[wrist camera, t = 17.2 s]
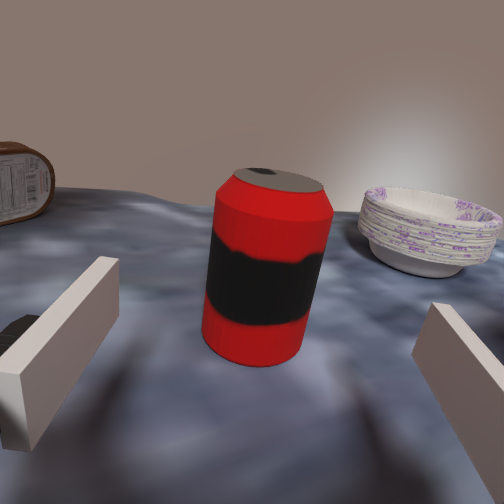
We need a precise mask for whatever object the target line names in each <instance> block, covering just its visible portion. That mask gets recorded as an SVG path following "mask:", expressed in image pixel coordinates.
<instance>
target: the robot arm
mask: <svg viewBox="0 0 504 504" xmlns="http://www.w3.org/2000/svg"><path fill="white" fill-rule="evenodd" d="M118 316H119V259H116V258H109V257H102V256H100V257H99V258H98V259H97V260H96V261H95V262H94V263H93V264H92V265H91V266H90V267H89V268H88V269H87V270H86V271H85V272H84V273H83V274H82V275H81V276H80V277H79V278H78V279H77V280H76V281H75V282H74V283H73V284H72V285H71V286H70V287H69V288H68V289H67V290H66V291H65V292H64V293H63V294H62V295H61V296H60V297H59V298H58V299H57V300H56V301H55V302H54V303H53V304H52V305H51V306H50V307H49V308H48V309H47V310H46V311H45V312H44V313H43V314H42V315H41V316H36V315H28V314H27V315H25V316H24V317H22V318H20V319H18V320H16V321H14V322H12V323H11V324H9V325H8V326H7V327H6V328H5V329H4V330H3V331H2V332H1V333H0V437H1V442H2V448H3V449H7V450H16V451H24V452H32V450H33V449H34V447H35V446H36V444H37V443H38V441H39V440H40V438H41V436H42V435H43V433H44V432H45V430H46V429H47V427H48V426H49V424H50V422H51V421H52V419H53V418H54V416H55V415H56V413H57V411H58V410H59V408H60V407H61V405H62V404H63V402H64V401H65V399H66V397H67V396H68V394H69V393H70V391H71V390H72V388H73V387H74V385H75V383H76V382H77V380H78V379H79V377H80V376H81V374H82V372H83V371H84V369H85V368H86V366H87V365H88V363H89V362H90V360H91V358H92V357H93V355H94V354H95V352H96V351H97V349H98V348H99V346H100V344H101V343H102V341H103V340H104V338H105V337H106V335H107V334H108V332H109V330H110V329H111V327H112V326H113V324H114V323H115V321H116V319H117V318H118ZM411 355H412V357H413V358H414V360H415V362H416V364H417V365H418V367H419V369H420V371H421V373H422V374H423V376H424V378H425V380H426V381H427V383H428V385H429V387H430V388H431V390H432V392H433V394H434V396H435V397H436V399H437V401H438V403H439V404H440V406H441V408H442V410H443V411H444V413H445V415H446V417H447V419H448V420H449V422H450V424H451V426H452V427H453V429H454V431H455V433H456V434H457V436H458V438H459V440H460V442H461V443H462V445H463V447H464V449H465V450H466V452H467V454H468V456H469V457H470V459H471V461H472V463H473V465H474V466H475V468H476V470H477V472H478V473H479V475H480V477H481V479H482V481H483V482H484V484H485V486H486V488H487V489H488V491H489V493H490V495H491V496H492V498H493V500H494V502H495V504H504V366H503V365H502V364H501V363H500V362H499V360H498V359H497V358H496V357H495V356H494V355H493V354H492V352H491V351H490V350H489V349H488V348H487V347H486V346H485V344H484V343H483V342H482V341H481V340H480V339H479V338H478V336H477V335H476V334H475V333H474V332H473V331H472V330H471V328H470V327H469V326H468V325H467V324H466V323H465V322H464V320H463V319H462V318H461V317H460V316H459V315H458V314H457V312H456V311H455V310H454V309H453V308H452V307H451V306H450V305H447V304H440V303H433V302H432V304H431V306H430V309H429V311H428V314H427V316H426V319H425V321H424V324H423V326H422V329H421V331H420V334H419V336H418V339H417V341H416V344H415V346H414V349H413V351H412V354H411Z"/></svg>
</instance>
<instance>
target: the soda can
mask: <svg viewBox="0 0 504 504" xmlns="http://www.w3.org/2000/svg"><path fill="white" fill-rule="evenodd" d="M333 214H334V211H333V208H332V206H331V204H330V202H329V200H328V198H327V196H326V193H325V191H324V189H323V185H322V184H321V183H319V182H317V181H316V180H313V179H311V178H308V177H305V176H302V175H298V174H294V173H290V172H285V171H279V170H272V169H263V168H244V169H238V170H236V171H235V172H234V174H233V175H232V176H231V177H230V178H229V179H228V180H227V181H226V183H224V184H223V185H222V186H221V187H220V188H219V189H218V190H217V192H216V198H215V207H214V217H213V226H212V236H211V245H210V255H209V264H208V274H207V283H206V292H205V302H204V311H203V321H202V334H203V337H204V339H205V341H206V342H207V343H208V345H209V346H210V347H211V348H212V349H213V350H214V351H215V352H216V353H217V354H219V355H220V356H221V357H223V358H225V359H227V360H229V361H231V362H233V363H236V364H239V365H244V366H248V367H270V366H274V365H278V364H280V363H283V362H285V361H287V360H289V359H290V358H292V357H293V356H295V355H296V353H297V352H298V351H299V350H300V347H301V344H302V340H303V336H304V332H305V328H306V324H307V320H308V316H309V312H310V308H311V304H312V300H313V296H314V292H315V288H316V283H317V279H318V275H319V271H320V267H321V263H322V259H323V255H324V251H325V247H326V243H327V239H328V235H329V231H330V227H331V222H332V218H333Z"/></svg>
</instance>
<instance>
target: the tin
mask: <svg viewBox="0 0 504 504" xmlns="http://www.w3.org/2000/svg"><path fill="white" fill-rule="evenodd" d="M54 189H55V174H54V169H53V166H52V165H51V163H50V162H49V160H48V159H47V158H46V157H45V156H44V155H42V154H41V153H39V152H37V151H35V150H33V149H31V148H29V147H27V146H25V145H23V144H21V143H17V142H0V226H3V225H7V224H12V223H16V222H20V221H24V220H28V219H31V218H33V217H35V216H37V215H39V214H40V213H41V212H43V211H44V210H45V209H46V207H47V206H48V205H49V203H50V202H51V200H52V198H53V195H54Z"/></svg>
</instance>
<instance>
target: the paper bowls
mask: <svg viewBox="0 0 504 504" xmlns="http://www.w3.org/2000/svg"><path fill="white" fill-rule="evenodd" d="M357 226H358V229H359V231H360V232H361V233H362V234H363V235H364V236H365V237H367V238H368V239H369V244H370V248H371V251H372V252H373V254H374V255H375V256H376V257H377V258H378V259H380V260H381V261H382V262H384V263H386V264H387V265H389V266H391V267H393V268H396V269H398V270H401V271H404V272H407V273H410V274H414V275H418V276H423V277H431V278H444V277H449V276H452V275H454V274H456V273H458V272H459V271H460V270H461V269H462V268H463V267H464V266H470V265H477V264H482V263H484V262H485V261H487V260H488V257H489V256H490V254H491V252H492V249H493V247H494V245H495V243H496V238H497V236H498V235H499V233H500V230H501V229H502V226H503V220H502V218H501V217H500V216H499V215H497V214H496V213H494V212H492V211H490V210H488V209H486V208H484V207H481V206H479V205H476V204H473V203H470V202H467V201H464V200H460V199H457V198H453V197H449V196H445V195H441V194H436V193H432V192H426V191H420V190H414V189H407V188H396V187H376V188H371V189H369V190H367V191H366V193H365V197H364V201H363V203H362V207H361V212H360V215H359V220H358V225H357Z"/></svg>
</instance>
